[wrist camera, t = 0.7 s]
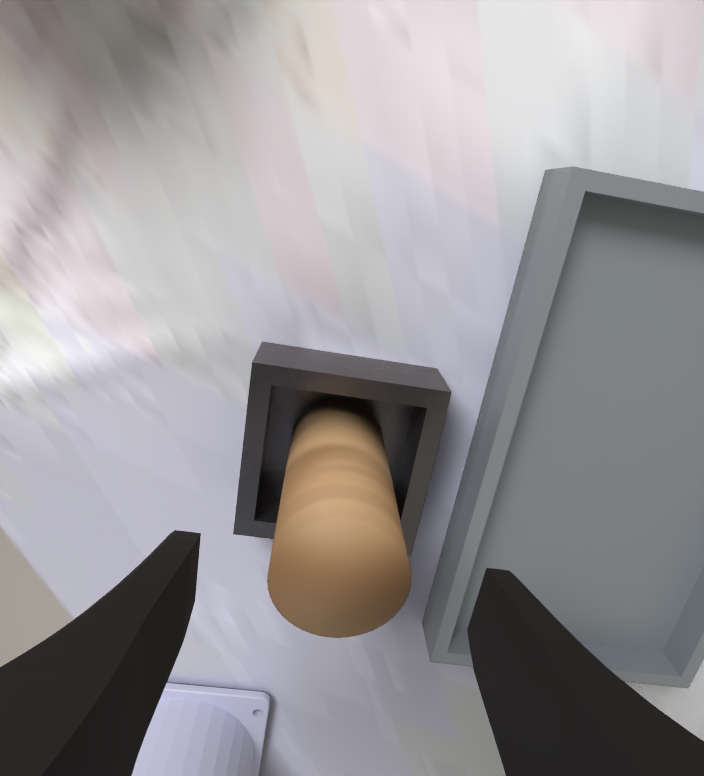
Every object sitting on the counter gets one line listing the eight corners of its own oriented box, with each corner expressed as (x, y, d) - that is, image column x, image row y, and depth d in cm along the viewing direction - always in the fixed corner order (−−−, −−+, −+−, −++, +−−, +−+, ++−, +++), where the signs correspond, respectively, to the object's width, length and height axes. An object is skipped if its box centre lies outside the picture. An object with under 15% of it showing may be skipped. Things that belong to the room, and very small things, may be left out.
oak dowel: (373, 487, 21) (396, 644, 14) (285, 475, 21) (260, 629, 14) (390, 406, 20) (425, 530, 13) (297, 392, 20) (276, 511, 12)
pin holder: (402, 516, 23) (410, 555, 20) (244, 496, 22) (233, 534, 20) (437, 368, 20) (451, 392, 18) (262, 341, 20) (252, 362, 17)
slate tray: (659, 648, 26) (688, 688, 24) (422, 622, 25) (430, 661, 23) (859, 230, 19) (922, 234, 17) (545, 169, 18) (572, 166, 16)
